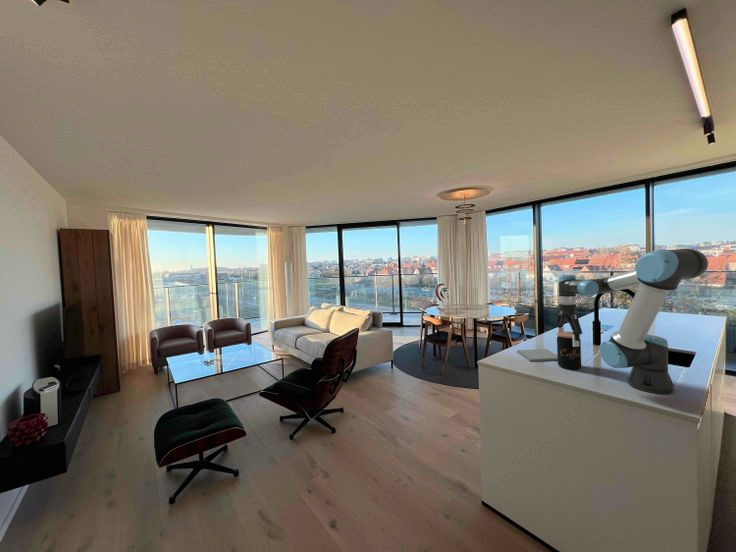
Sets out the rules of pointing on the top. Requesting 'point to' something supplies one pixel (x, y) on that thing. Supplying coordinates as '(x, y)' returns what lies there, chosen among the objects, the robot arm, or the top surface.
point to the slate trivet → (538, 355)
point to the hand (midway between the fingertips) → (568, 342)
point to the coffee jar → (568, 351)
